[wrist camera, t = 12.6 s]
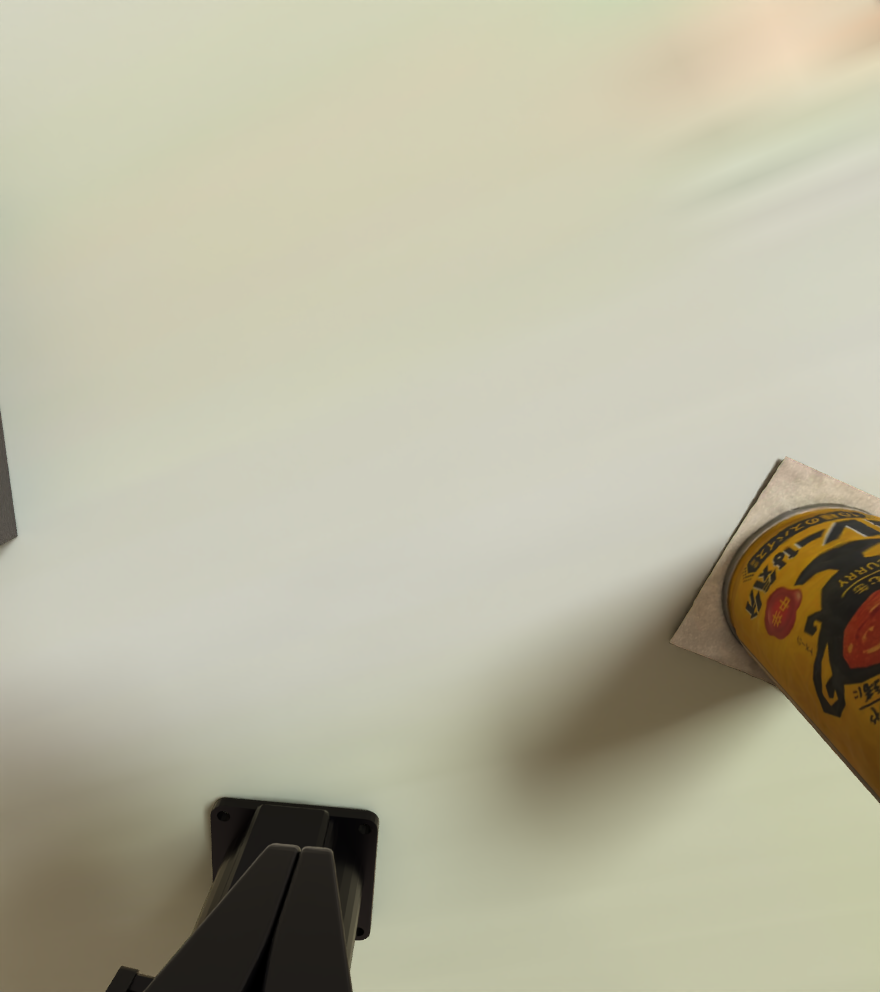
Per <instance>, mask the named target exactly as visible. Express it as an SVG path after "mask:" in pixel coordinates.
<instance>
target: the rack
mask: <svg viewBox="0 0 880 992" xmlns="http://www.w3.org/2000/svg"><path fill="white" fill-rule="evenodd" d="M15 537H17V530H16V522H15V515H14V508H13V501H12V493H11V486H10V479H9V471H8V464H7V457H6V449H5V442H4V435H3V427H2V420H1V413H0V545H1V544H3V543H5V542H7V541H9V540H11V539H13V538H15Z"/></svg>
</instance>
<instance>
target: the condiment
mask: <svg viewBox="0 0 880 992" xmlns="http://www.w3.org/2000/svg"><path fill="white" fill-rule="evenodd" d="M669 643H671V644H674V645H676V646H679V647H681V648H684V649H686V650H689V651H692V652H694V653H697V654H699V655H702V656H704V657H707V658H710V659H712V660H715V661H717V662H719V663H722V664H724V665H726V666H729V667H732V668H735V669H737V670H740V671H742V672H745V673H747V674H749V675H751V676H753V677H757V678H759V679H762V680H764V681H766V682H768V683H770V684H772V685H774V686H777V687H778V688H779V689H780V691H781V692H782V693H783V694H784V695H785V696H786V697H787V698H788V699H789V700H790V702H791V703H792V704H793V705H794V706H795V707H796V709H797V710H798V711H799V712H800V713H801V714H802V715H803V716H804V718H805V719H806V720H807V721H808V722H809V723H810V724H811V725H812V727H813V728H814V729H815V730H816V731H817V733H818V734H819V735H820V736H821V737H822V738H823V739H824V741H825V742H826V743H827V744H828V745H829V746H830V747H831V749H832V750H833V751H834V752H835V753H836V754H837V755H838V756H839V758H840V759H841V760H842V761H843V762H844V763H845V764H846V766H847V767H848V768H849V769H850V770H851V771H852V773H853V774H854V775H855V776H856V777H857V778H858V779H859V780H860V782H861V783H862V784H863V785H864V786H865V787H866V788H867V790H868V791H869V792H870V793H871V794H872V795H873V796H874V797H875V798H876V800H877V801H878V802H879V803H880V499H879V498H877V497H875V496H873V495H870V494H868V493H866V492H864V491H862V490H859V489H857V488H855V487H853V486H850V485H848V484H846V483H844V482H842V481H839V480H837V479H835V478H833V477H830V476H828V475H826V474H824V473H822V472H819V471H817V470H815V469H813V468H811V467H808V466H806V465H804V464H802V463H799V462H797V461H795V460H793V459H791V458H788V457H785V459H784V460H783V461H782V463H781V464H780V466H779V467H778V469H777V471H776V473H775V474H774V475H773V477H772V479H771V480H770V482H769V483H768V485H767V487H766V488H765V489H764V490H763V491H762V493H761V495H760V497H759V499H758V500H757V502H756V503H755V505H754V506H753V507H752V508H751V510H750V511H749V513H748V515H747V516H746V518H745V519H744V521H743V522H742V524H741V526H740V527H739V529H738V531H737V532H736V534H735V535H734V536H733V538H732V539H731V541H730V543H729V544H728V546H727V547H726V549H725V551H724V552H723V554H722V556H721V558H720V559H719V561H718V563H717V564H716V566H715V567H714V569H713V571H712V573H711V574H710V575H709V577H708V579H707V580H706V582H705V584H704V585H703V587H702V588H701V590H700V592H699V594H698V596H697V598H696V599H695V600H694V603H693V606H692V608H691V609H690V611H689V612H688V613H687V615H686V617H685V618H684V620H683V622H682V623H681V625H680V627H679V628H678V630H677V631H676V633H675V634H674V636H673V637H672V639H671V640H670V642H669Z"/></svg>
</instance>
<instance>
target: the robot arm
mask: <svg viewBox="0 0 880 992" xmlns="http://www.w3.org/2000/svg"><path fill="white" fill-rule="evenodd" d="M223 811H225V812H227V813H225V812H223ZM363 824H367V825H368V826H365V825H363ZM378 830H379V818H378V817H377V815H376V814H375V813H373V812H371V811H365V810H354V809H343V808H332V807H321V806H310V805H300V804H289V803H278V802H267V801H256V800H245V799H234V798H222V799H219V800H218V801H217V802H216V803H215V805H214V807H213V809H212V812H211V838H212V867H213V884H212V887H211V889H210V892H209V894H208V896H207V899H206V901H205V903H204V906H203V908H202V911H201V913H200V915H199V918H198V920H197V922H196V925H195V927H194V930H193V932H192V934H191V936H190V937H189V939H188V940H187V941H186V942H185V943H184V944H183V946H182V947H181V948H180V949H179V950H178V951H177V953H176V954H175V955H174V956H173V957H172V958H171V960H170V961H169V962H168V963H167V964H166V965H165V967H164V968H163V969H162V970H161V971H160V973H159V974H158V975H157V976H156V977H151V976H147V975H142V974H138V973H139V970H138V969H133V968H129V967H125V966H121V967H120V969H119V970H118V972H117V974H116V975H115V977H114V979H113V980H112V982H111V984H110V985H109V987H108V989H107V990H106V992H353V991H352V983H351V976H350V968H351V961H352V955H353V949H354V942H355V940H364V939H366V938H367V937H368V936H369V934H370V929H371V921H372V908H373V895H374V882H375V869H376V856H377V843H378Z"/></svg>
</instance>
